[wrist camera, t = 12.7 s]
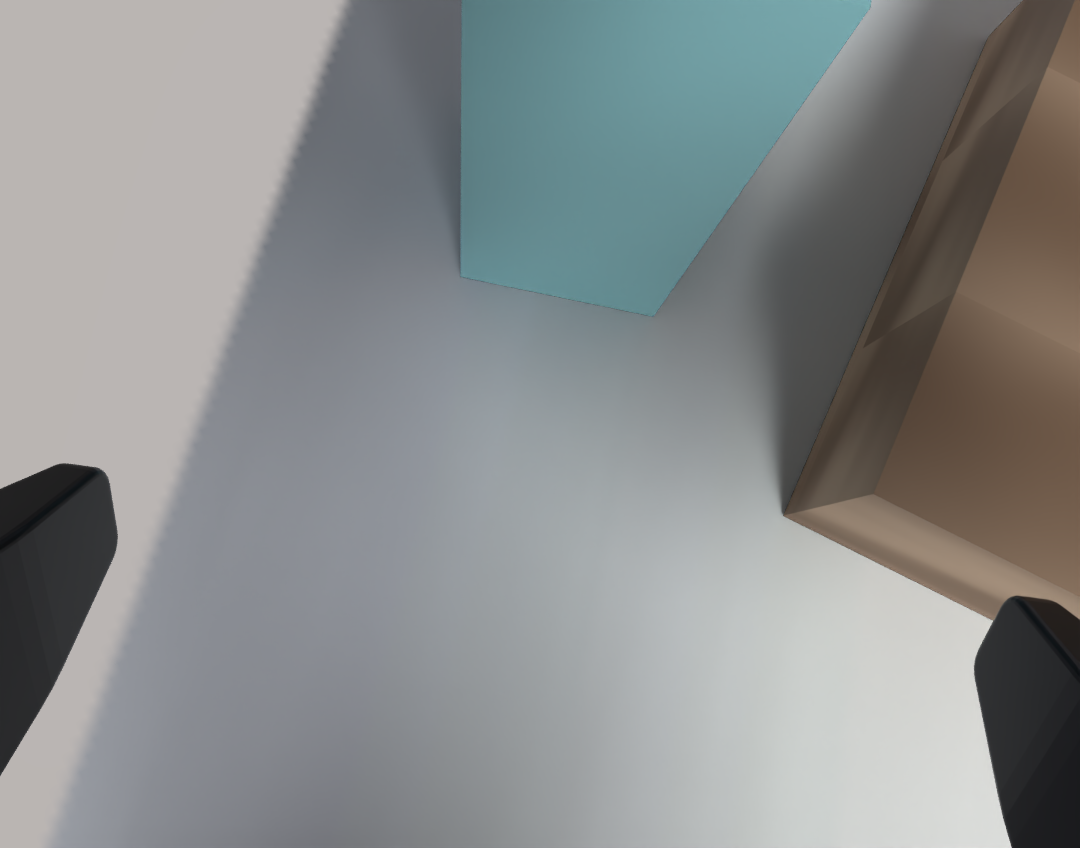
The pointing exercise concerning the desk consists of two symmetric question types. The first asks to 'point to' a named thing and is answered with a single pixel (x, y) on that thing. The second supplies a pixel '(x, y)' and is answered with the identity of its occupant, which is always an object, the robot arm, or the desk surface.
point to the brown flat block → (974, 349)
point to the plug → (623, 132)
